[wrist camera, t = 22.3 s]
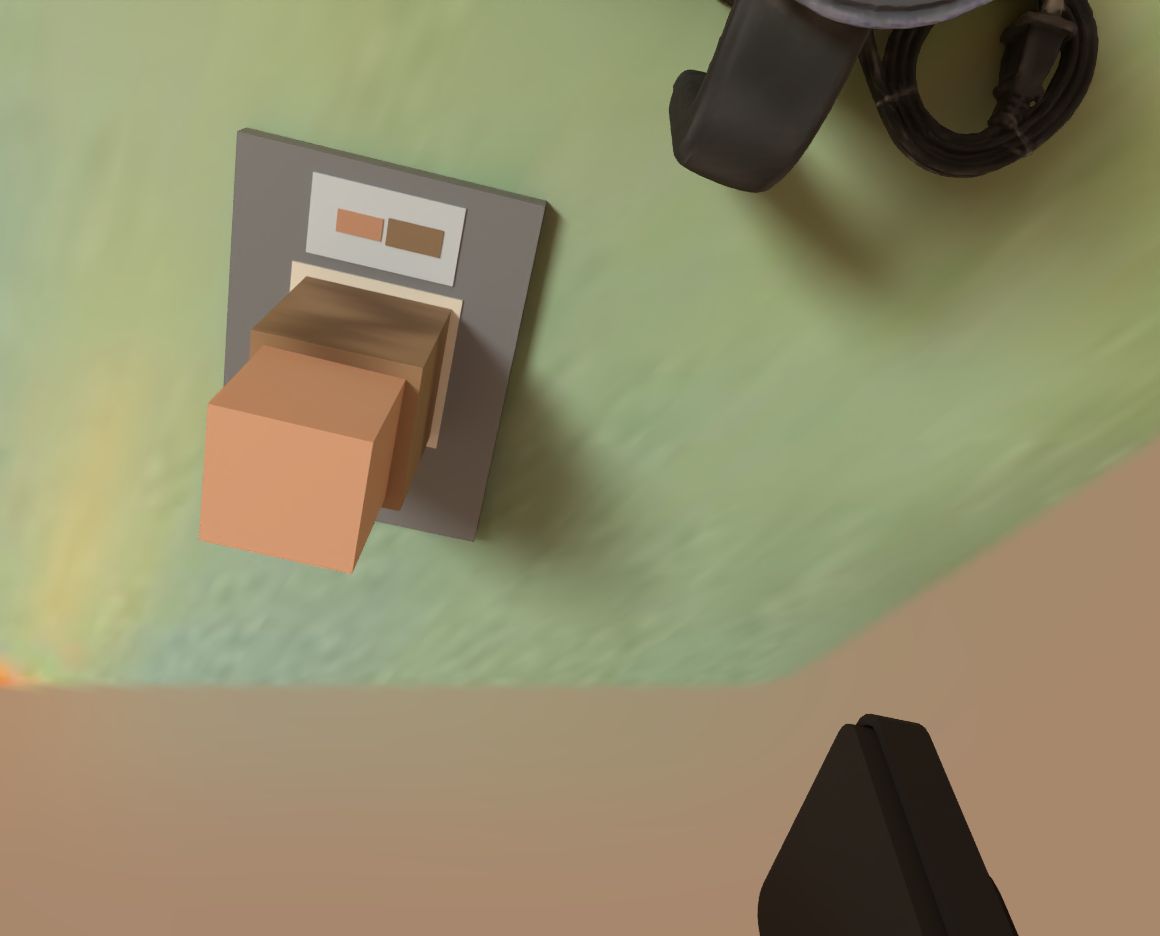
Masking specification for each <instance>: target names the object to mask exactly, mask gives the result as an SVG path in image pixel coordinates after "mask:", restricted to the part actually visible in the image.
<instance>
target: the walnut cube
mask: <svg viewBox="0 0 1160 936" xmlns="http://www.w3.org/2000/svg"><path fill="white" fill-rule="evenodd" d="M451 310H452V309H448V308H444V307H439V306H435V305H430V304H426V303H422V302H417V301H413V300H409V299H404V298H400V297H396V296H391V295H387V294H383V293H378V292H374V291H369V290H365V289H361V288H356V287H352V286H348V285H343V284H339V283H335V282H330V281H326V280H321V279H317V278H313V277H308V276H306V277H305V278H304V279H303V280H302V281H301V282H300V283H299V284H298V285H297V286H296V287H295V288H294V289H293V290H291V291H290V292H289V293H288V294H287V295H286V296H285V297H284V298H283V299H282V300H281V301H280V302H279V303H278V304H277V305H276V306H275V307H274V308H273V309H272V310H271V311H270V312H269V313H268V314H267V315H266V316H265V317H264V318H262V319H261V320H260V321H259V322H258V323H257V324H256V325H255V326H254V327H253V328H252V329H251V339H250V355H249V360H250V359H251V358H252V357H253V356H254V355H255V354H256V353H257V352H258V351H259V350H260V349H261V348H262V347H263V345H265V346H269V347H274V348H278V349H282V350H286V351H290V352H294V353H298V354H303V355H307V356H311V357H315V358H319V359H323V360H327V361H332V362H336V363H340V364H344V365H348V366H352V367H356V368H360V369H365V370H369V371H373V372H377V373H381V374H385V375H389V376H394V377H398V378H402V379H406V381H405V387H404V392H403V398H402V404H401V410H400V415H399V421H398V427H397V432H396V438H395V444H394V450H393V455H392V461H391V467H390V472H389V478H388V484H387V490H386V495H385V499H384V502H383V504H382V506H381V507H382V508H387V509H392V510H396V511H400V510H401V508H402V505H403V503H404V500H405V498H406V495H407V493H408V490H409V488H410V485H411V483H412V480H413V478H414V475H415V473H416V470H417V468H418V465H419V463H420V460H421V458H422V455H423V452H424V450H425V447H426V445H427V442H428V440H429V437H430V433H431V427H432V421H433V415H434V409H435V404H436V398H437V392H438V386H439V380H440V374H441V368H442V363H443V357H444V351H445V345H446V339H447V333H448V327H449V321H450V316H451Z"/></svg>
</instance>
